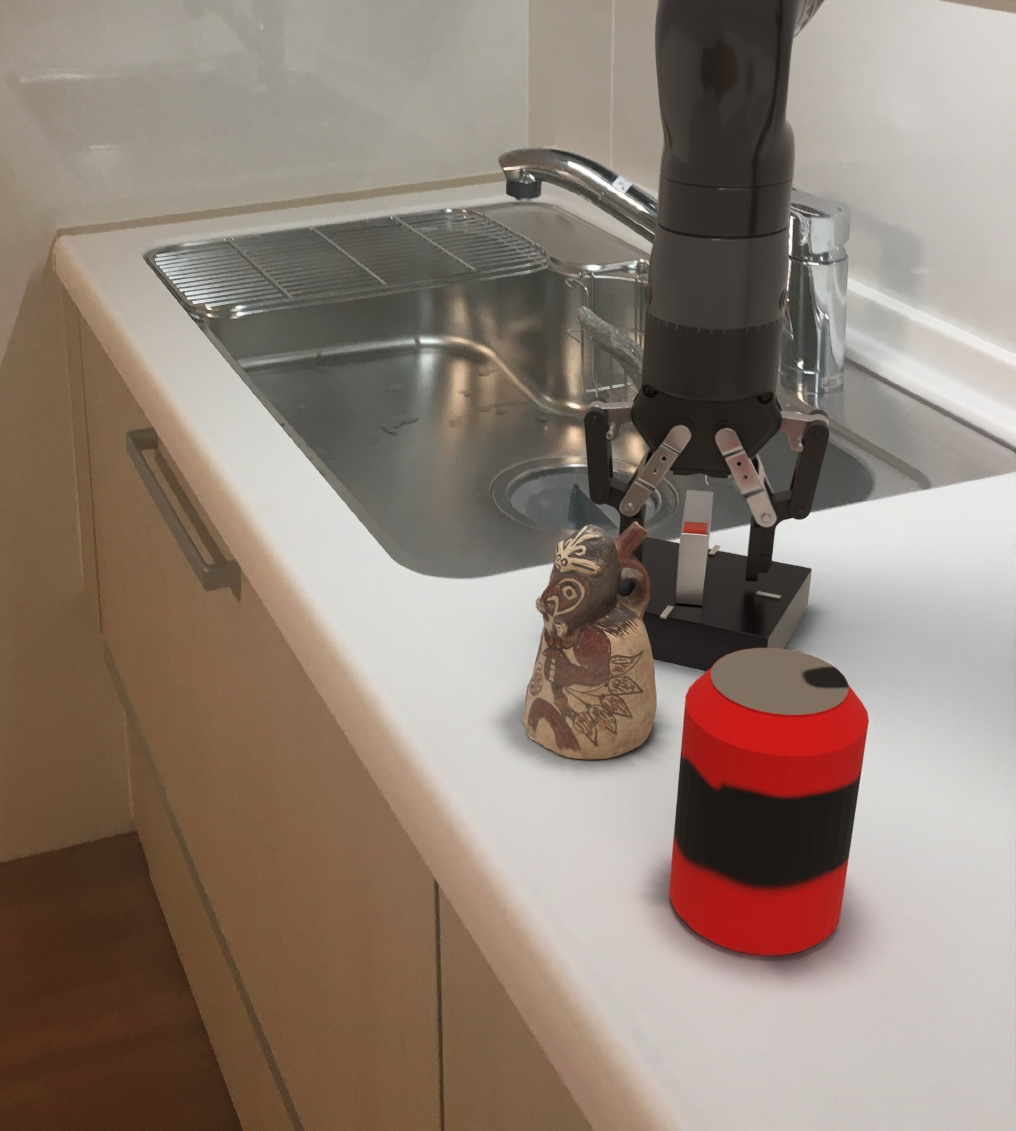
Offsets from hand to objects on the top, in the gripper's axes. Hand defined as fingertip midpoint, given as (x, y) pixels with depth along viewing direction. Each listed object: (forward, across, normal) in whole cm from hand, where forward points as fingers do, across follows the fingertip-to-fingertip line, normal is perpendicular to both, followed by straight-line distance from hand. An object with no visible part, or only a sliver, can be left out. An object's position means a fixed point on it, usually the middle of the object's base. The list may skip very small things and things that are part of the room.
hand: (692, 570), depth 94 cm
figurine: (+4, +5, +13) cm, 14 cm away
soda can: (+4, -4, +27) cm, 28 cm away
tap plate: (+4, 0, 0) cm, 4 cm away
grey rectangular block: (+1, 0, 0) cm, 1 cm away
